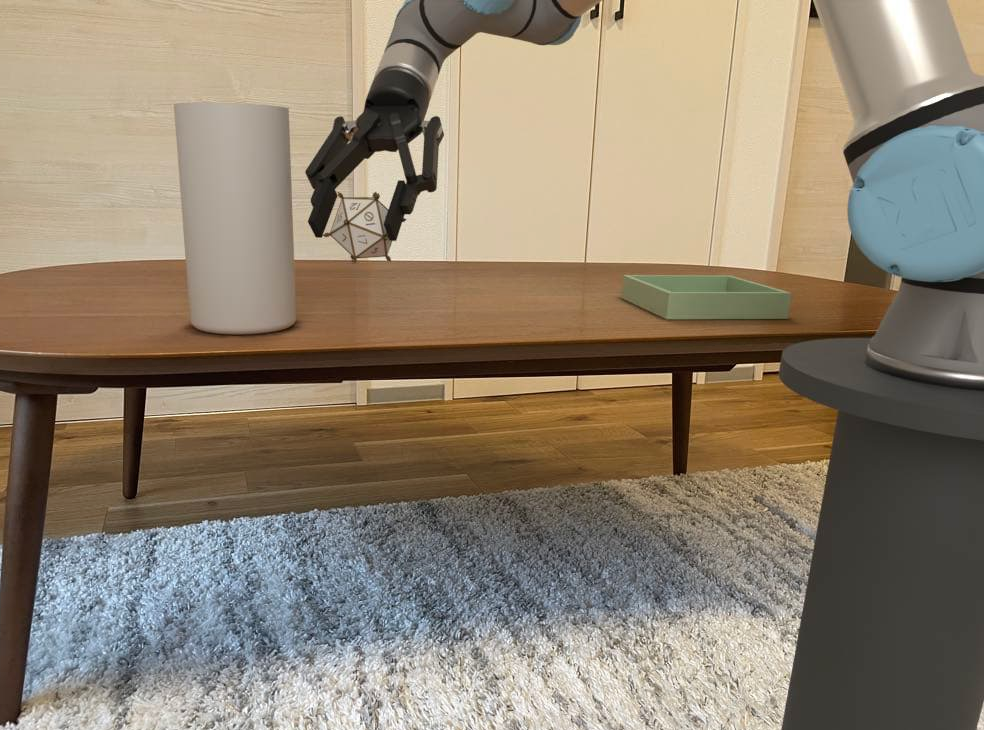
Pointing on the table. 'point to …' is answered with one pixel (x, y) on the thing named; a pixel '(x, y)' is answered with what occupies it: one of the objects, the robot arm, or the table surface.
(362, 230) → the game die
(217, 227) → the cylinder vase
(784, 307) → the tray
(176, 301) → the table surface
